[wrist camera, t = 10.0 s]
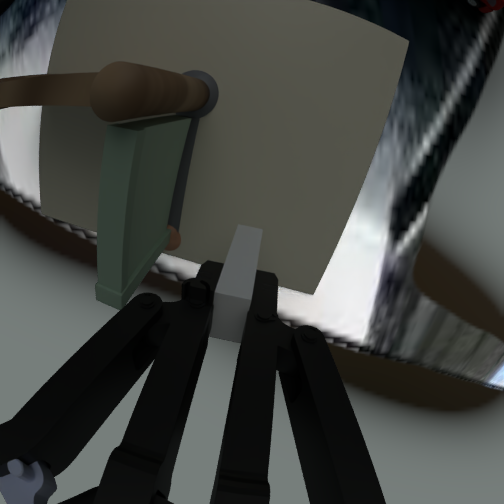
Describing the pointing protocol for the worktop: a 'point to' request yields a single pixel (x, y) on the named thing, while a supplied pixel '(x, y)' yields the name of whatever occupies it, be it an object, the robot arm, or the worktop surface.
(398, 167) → the worktop surface
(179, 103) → the base
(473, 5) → the toy fire truck
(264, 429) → the robot arm
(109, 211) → the green rectangular block
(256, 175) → the card
